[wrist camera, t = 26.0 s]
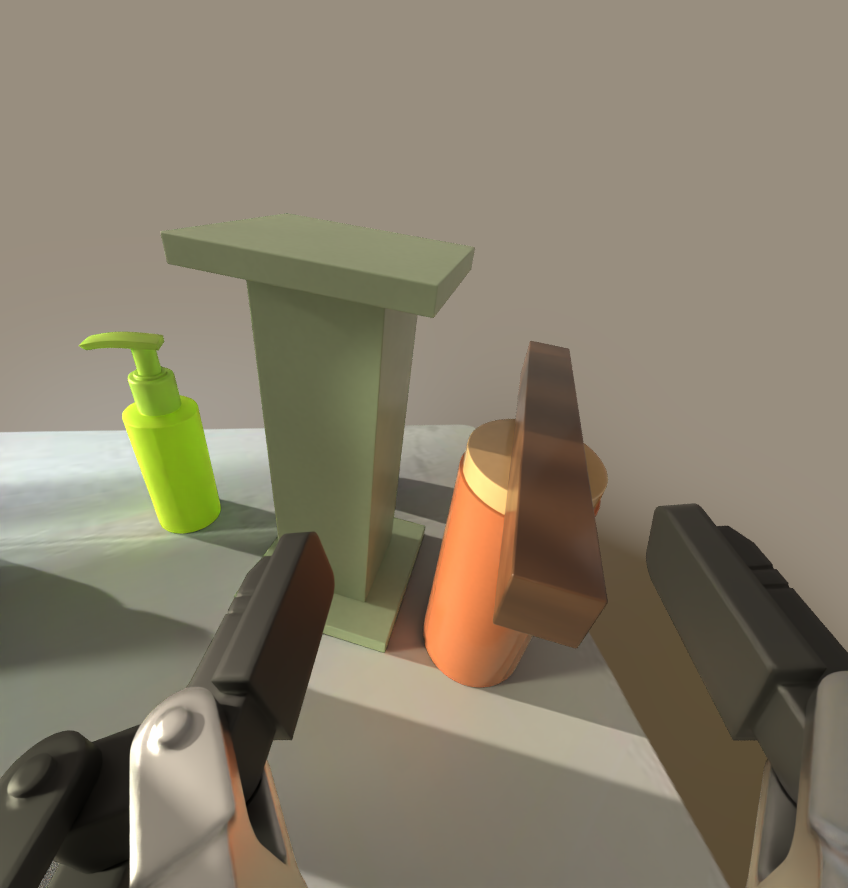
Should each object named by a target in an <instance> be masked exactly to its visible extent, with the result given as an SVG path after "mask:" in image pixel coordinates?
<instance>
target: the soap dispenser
mask: <svg viewBox="0 0 848 888" xmlns="http://www.w3.org/2000/svg"><path fill="white" fill-rule="evenodd" d="M163 343H164V338H163V335H158V334H149V333H138V332H109V333H102V334H97V335H92V336H89V337H87V338H86V339H85V340H84V341H83V342H82V343H81V344H80V345H79V346H80V347H81V348H83V349H85V350H92V349H97V348H129V349H131V352H132V355H133V358H134V361H135V365H136V368H137V369H136V370H135V371H133V372H131V373H130V374H129V375H128V382H129V385H130V388H131V391H132V394H133V397H134V400H135V402H134V403H133V404H131V405H129V406H128V407H127V408H126V409H125V410H124V412H123V414H122V419H123V422H124V425H125V427H126V430H127V433H128V436H129V438H130V441H131V444H132V447H133V450H134V452H135V455H136V458H137V461H138V463H139V466H140V469H141V472H142V475H143V477H144V480H145V483H146V486H147V488H148V491H149V494H150V497H151V499H152V502H153V505H154V508H155V511H156V513H157V516H158V519H159V522H160V524H161V526H162V527H163V528H164V529H165V530H167V531H169V532H173V533H190V532H195V531H198V530H200V529H203V528H205V527H207V526H208V525H210V524H211V523H212V522H214V521H215V520H216V518H217V517H218V516H219V514H220V511H221V505H220V501H219V496H218V492H217V488H216V483H215V479H214V474H213V470H212V466H211V461H210V457H209V452H208V448H207V444H206V439H205V435H204V431H203V426H202V422H201V418H200V413H199V409H198V405H197V403H196V402H195V401H194V400H193V399H191V398H188V397H185V396H181V395H179V392H178V388H177V384H176V380H175V376H174V373H173V371H172V370H170V369H168V368H164V367H161V366H160V363H159V360H158V356H157V352H156V350H159V349H160V347H161V346H162V344H163Z"/></svg>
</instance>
